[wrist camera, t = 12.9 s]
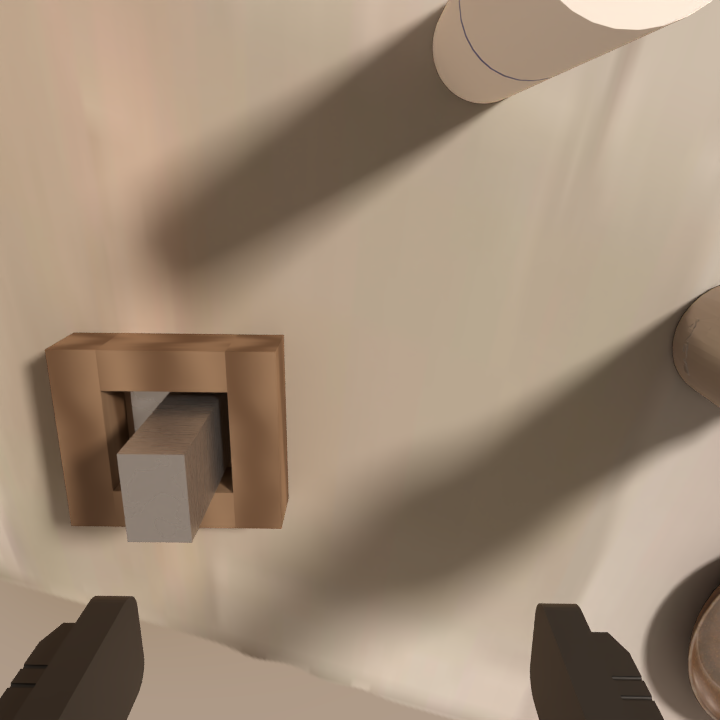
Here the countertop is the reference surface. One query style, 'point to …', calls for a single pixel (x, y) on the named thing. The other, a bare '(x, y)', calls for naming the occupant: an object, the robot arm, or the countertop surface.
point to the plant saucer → (706, 656)
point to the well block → (171, 374)
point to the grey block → (173, 463)
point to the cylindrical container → (537, 39)
